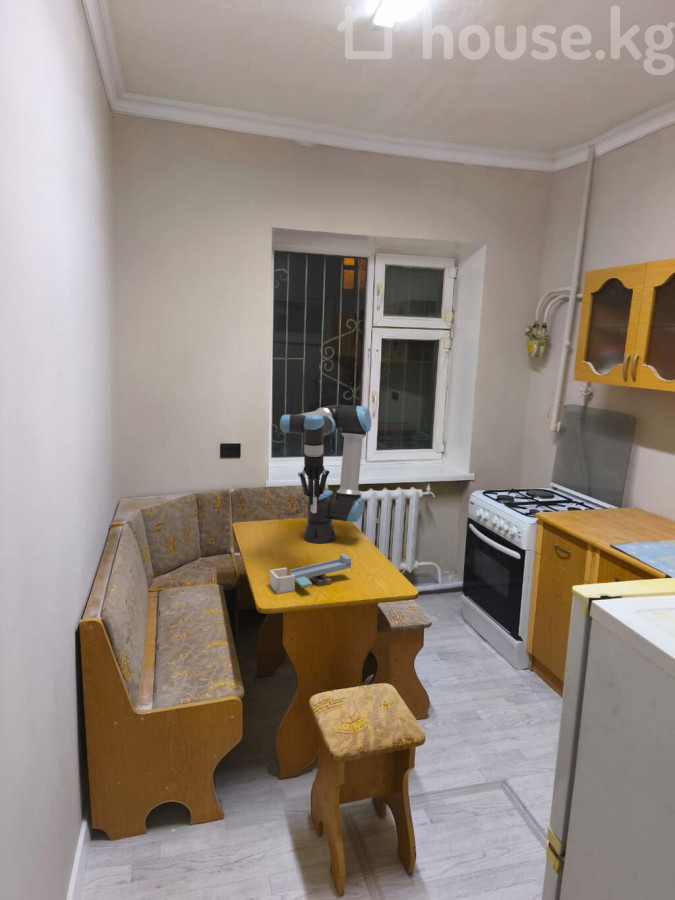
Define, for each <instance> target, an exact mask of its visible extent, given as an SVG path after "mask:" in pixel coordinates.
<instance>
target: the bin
mask: <svg viewBox="0 0 675 900" xmlns="http://www.w3.org/2000/svg"><path fill="white" fill-rule="evenodd" d="M295 582H296V581H295V575H288V568H287V567H282V568H274V569H269V571H268V585H269V587H271V589H272V590H273V591H274V592H275V593H276V594H277V595H279V594H285V593H290V592H295V590H296V588H295V587H296V586H295V585H296V583H295Z"/></svg>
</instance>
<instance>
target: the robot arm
mask: <svg viewBox="0 0 675 900" xmlns="http://www.w3.org/2000/svg"><path fill="white" fill-rule="evenodd" d="M371 427H372V416H371V411H370V410H369V408H367V407H366V406H363V405H345V404H333V405H332V404H331V405H328V406H327V405H326V406H323V407H319V408H316V410H314V411H313V410H312V411H310V412H302V413H298V414H297V413H296V414H283V415H282V416H281V418H280V421H279V429H280V430H281V432H282V433H286V434H297V435H299V434H301V435H304V438H303V439H304V440H303V441H304V446H303V449H304V451H303V453H304V457H303V459H304V461H303V464H304V466H303V468H302V469H303V470H302V471H301V472H298V473H297V475H298V477H299V479H300V482H301V486H302V491H303V494H304V496H306V497H307V524H306V527H305V529H304V532H303V540H305V541H306V542H309V543H313V544H328V543H331V542H334V541H335V539H336V533H335V529H334V527H333V526H334V525H333V520H335V521H343V522H347V523H357V522H359V520H360V519H361V517H362V516H363V513H364V509H365V499H364V498H363V497H362V493H361V492H360V491H359V483H360V473H361V472H360V470H361V462H362V461H361V459H362V449H363V439H364V438H365V437H366V436H367V433H369V432H370V431H371V429H372V428H371ZM335 430H340V431H341V433H340V434H341V435H342V437H343V445H342V447H343V448H342V449H343V450H342V460H341V470H340V471H341V472H340V484H339V488H338V489H337V491H336V493H335V494H334V492H333V490H330V489H325V488H326V483H327V479H328V476H329V474H330V471H329V470H328V469H325V466H324V455H323V454H324V438H325V436H328V435H330V434H332V433H333V432H334V431H335ZM306 476H307V480H306ZM307 483H308V484H307Z"/></svg>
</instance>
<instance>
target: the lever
mask: <svg viewBox="0 0 675 900" xmlns="http://www.w3.org/2000/svg"><path fill="white" fill-rule="evenodd" d="M347 569H352V558H351V557H350V556H349V555H347V554H345V553H340V554H339V558H336V559H331V560H328V561H323V562H318V563H314V564H308V565H304V566H301V567H297V568H293V569H289V570H288V574H289V575H288V576H290V575H295V582H296V583H297V585H299V586H300V588H302V589H304V588H308V587H313V583H312V581H310V580H309V579H311V578H310V577H314V576H319V575H323V574H325V575H327V574H330V573H334V572H338V571H339V572H340V571H344V570H347Z"/></svg>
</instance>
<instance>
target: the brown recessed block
mask: <svg viewBox="0 0 675 900" xmlns="http://www.w3.org/2000/svg"><path fill="white" fill-rule="evenodd" d="M309 579H311V581H312V582H314V583H315V584H316V585H317V586H318V587H323V586H324V587H325V586H329V585H331V584H332V579H331V578H330V577H329V576H328V575H327V574H323V575H319V576H314V577H310V578H309Z"/></svg>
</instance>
